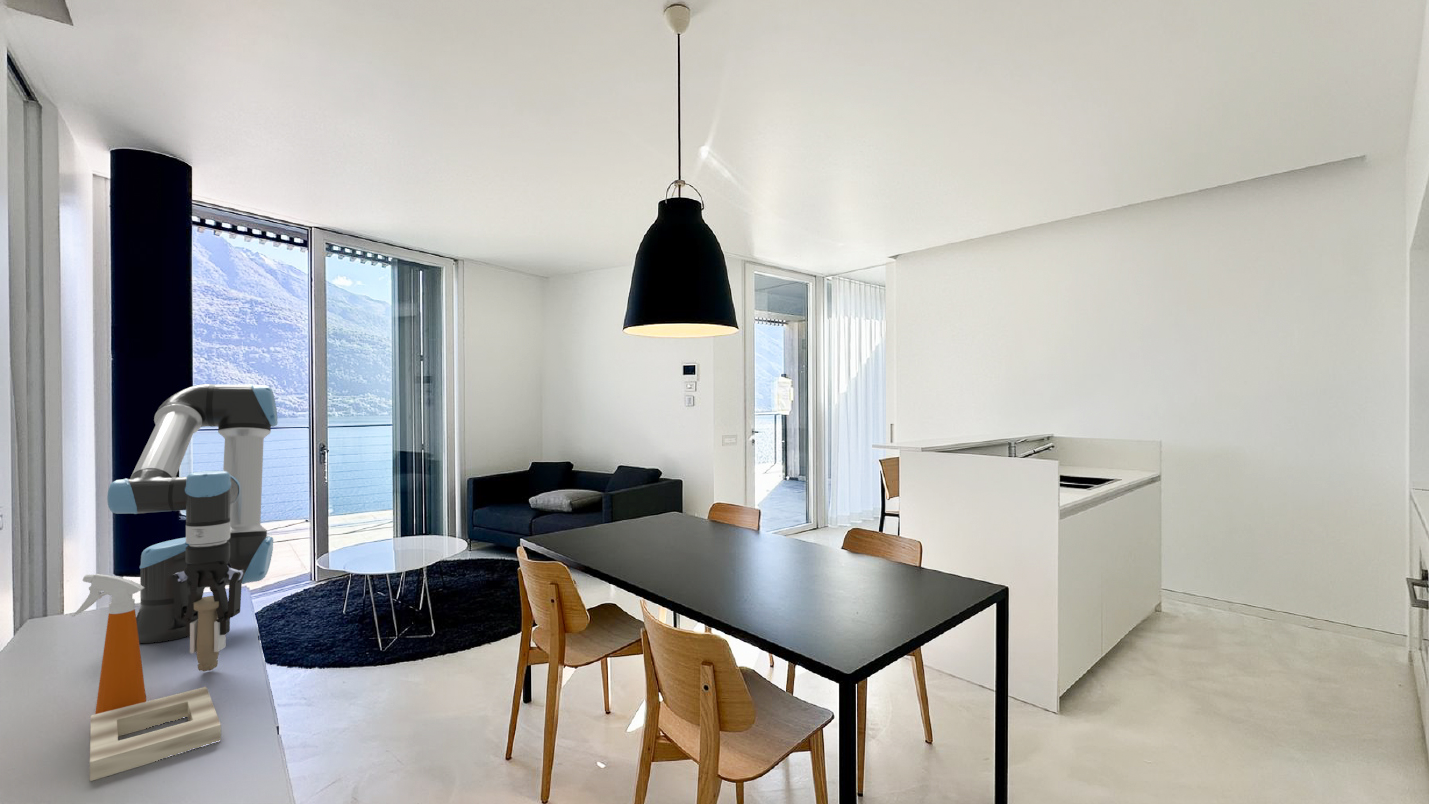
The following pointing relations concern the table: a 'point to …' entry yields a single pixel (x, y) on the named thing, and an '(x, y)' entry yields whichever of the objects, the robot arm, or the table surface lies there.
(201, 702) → the board
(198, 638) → the handle
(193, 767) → the table surface
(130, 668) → the spray bottle
